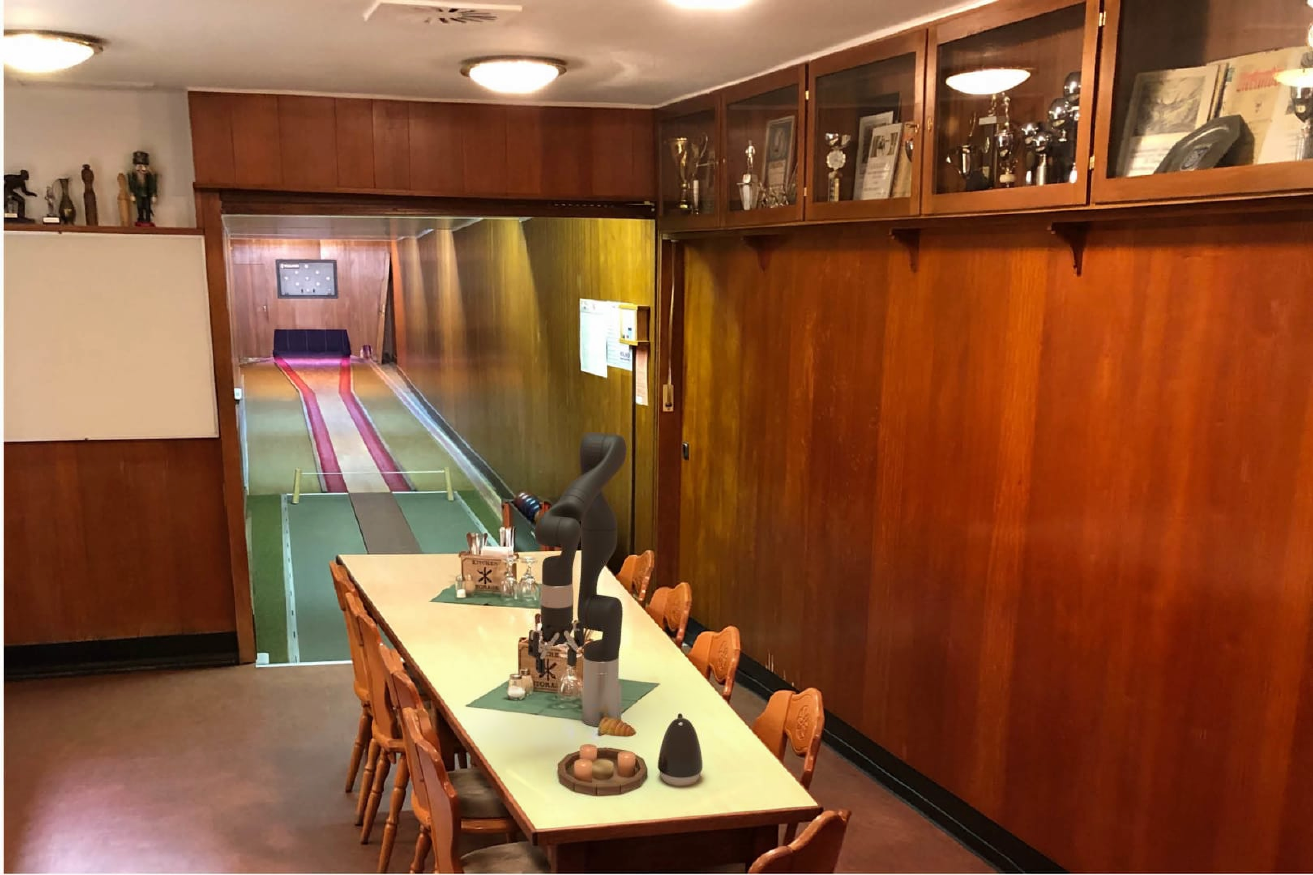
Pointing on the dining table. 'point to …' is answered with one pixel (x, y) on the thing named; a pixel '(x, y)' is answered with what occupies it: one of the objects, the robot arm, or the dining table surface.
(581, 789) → the tray
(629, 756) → the bead
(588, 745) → the bead
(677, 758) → the black tapered dome
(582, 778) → the bead
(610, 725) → the pastry
